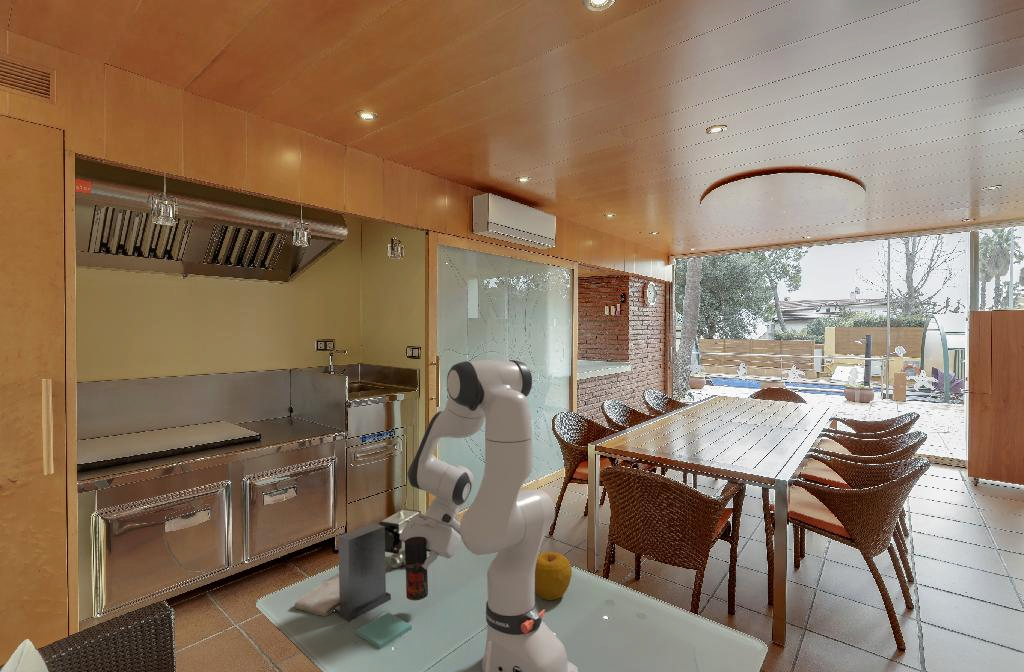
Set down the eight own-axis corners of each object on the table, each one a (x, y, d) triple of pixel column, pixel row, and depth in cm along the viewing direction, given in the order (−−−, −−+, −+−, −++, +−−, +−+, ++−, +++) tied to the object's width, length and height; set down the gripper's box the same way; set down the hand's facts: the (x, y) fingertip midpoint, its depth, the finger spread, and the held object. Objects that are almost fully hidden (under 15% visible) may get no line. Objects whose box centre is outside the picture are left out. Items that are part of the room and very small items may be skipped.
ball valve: (397, 577, 154) (396, 522, 155) (375, 573, 158) (374, 519, 158) (428, 554, 171) (427, 504, 171) (408, 551, 174) (407, 502, 174)
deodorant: (402, 595, 134) (400, 541, 134) (420, 587, 138) (418, 534, 138) (414, 602, 130) (412, 546, 130) (432, 594, 134) (430, 540, 134)
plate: (411, 629, 126) (411, 625, 126) (379, 648, 119) (379, 644, 119) (387, 616, 133) (387, 612, 133) (356, 634, 125) (356, 630, 125)
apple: (522, 587, 146) (522, 550, 147) (561, 580, 150) (560, 543, 151) (538, 609, 134) (537, 568, 134) (580, 601, 138) (579, 561, 138)
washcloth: (368, 588, 149) (368, 578, 149) (325, 619, 132) (325, 608, 132) (338, 581, 154) (338, 572, 154) (293, 611, 137) (293, 600, 137)
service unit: (390, 599, 141) (389, 526, 142) (348, 621, 130) (347, 542, 131) (376, 592, 146) (375, 521, 146) (334, 613, 135) (333, 536, 135)
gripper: (410, 507, 146) (384, 550, 138) (458, 519, 134) (432, 568, 126) (421, 517, 150) (397, 560, 142) (469, 530, 137) (445, 579, 129)
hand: (414, 564), depth 134 cm, fingers closed on deodorant, 6 cm apart
